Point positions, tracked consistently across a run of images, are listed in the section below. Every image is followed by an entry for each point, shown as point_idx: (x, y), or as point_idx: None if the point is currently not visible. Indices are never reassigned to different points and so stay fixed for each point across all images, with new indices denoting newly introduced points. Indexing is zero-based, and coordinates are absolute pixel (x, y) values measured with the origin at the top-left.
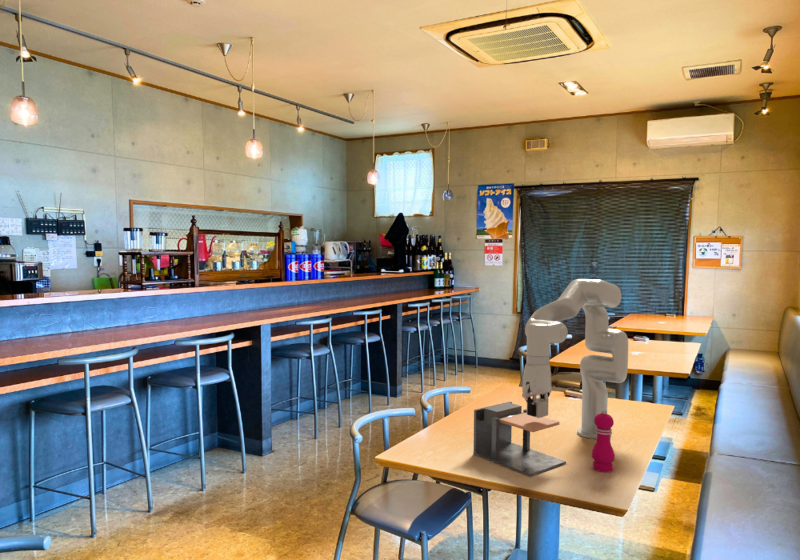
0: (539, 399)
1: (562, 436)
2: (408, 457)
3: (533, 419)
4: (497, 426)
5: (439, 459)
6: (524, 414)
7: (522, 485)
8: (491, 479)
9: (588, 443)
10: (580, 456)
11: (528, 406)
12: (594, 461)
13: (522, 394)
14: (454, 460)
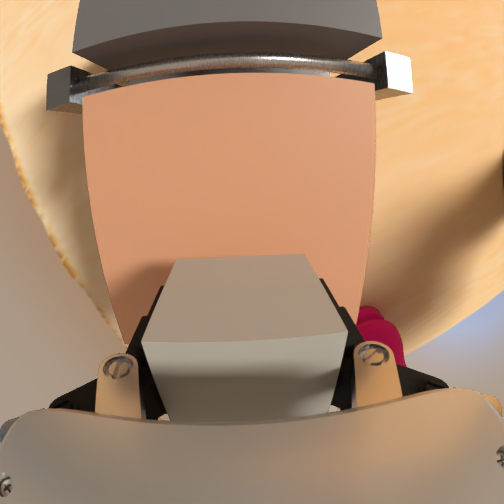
0: (293, 396)
1: (483, 118)
2: (11, 15)
3: (276, 223)
4: (80, 110)
5: (40, 40)
6: (327, 99)
7: (97, 290)
8: (53, 221)
9: (483, 196)
10: (402, 242)
11: (130, 350)
12: (361, 319)
13: (2, 437)
14: (59, 57)
